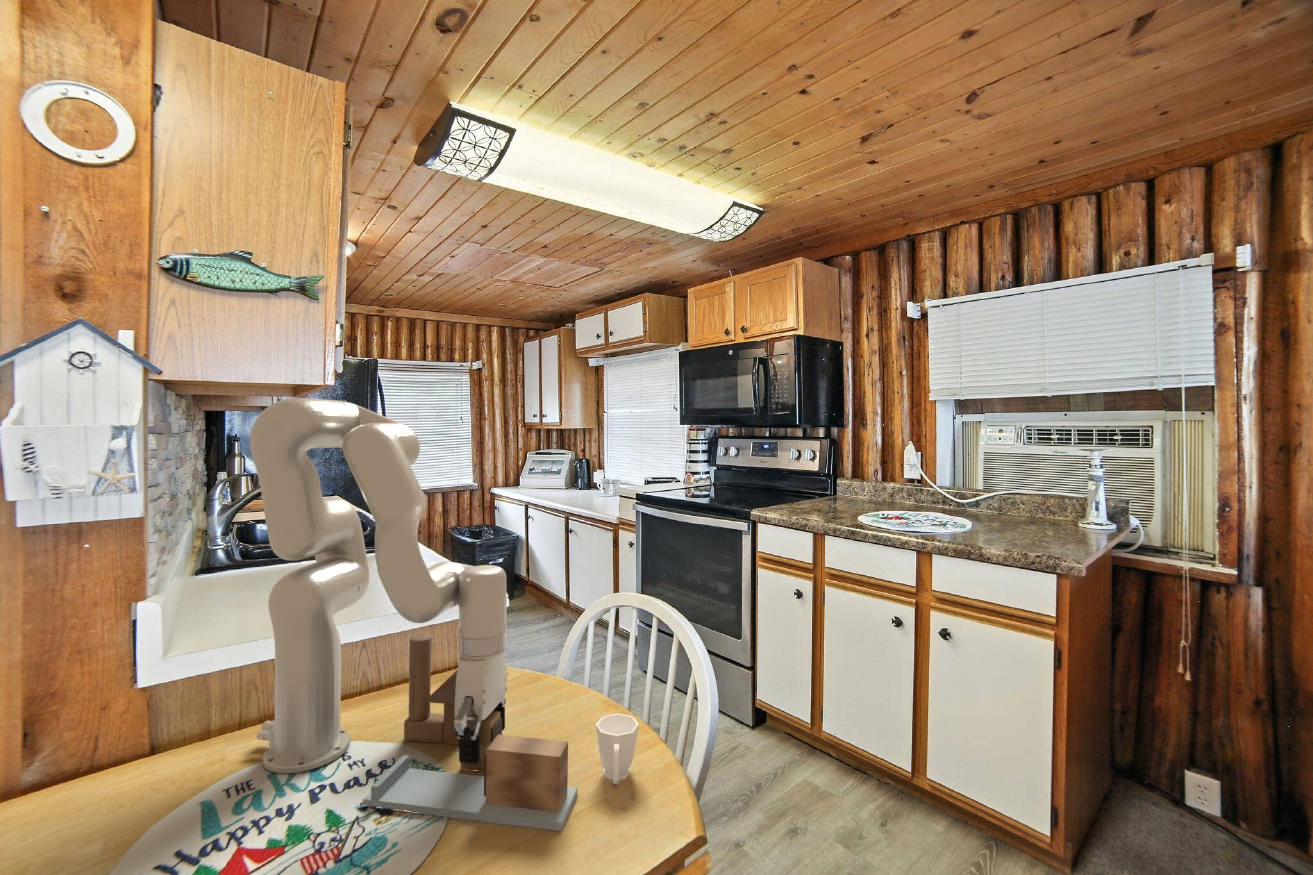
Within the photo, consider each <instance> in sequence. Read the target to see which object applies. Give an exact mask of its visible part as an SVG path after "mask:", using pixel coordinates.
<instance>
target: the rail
mask: <svg viewBox="0 0 1313 875" xmlns="http://www.w3.org/2000/svg"><path fill="white" fill-rule="evenodd" d="M370 790H371V791H369V793H368V794H367V795H365V796H364V798H363V799H362V806H363V805H371V806H379V807H382V808H391V809H392V808H393V809H398V810H407V811H411V812H418V813H423V814H427V815H426V816H431V815H438V816H437V817H440V816H445V817H444V818H448V817H450V818H449V819H455V820H456V819H458V820H467V821H473V822H481V823H482V822H483V823H488V824H489V823H490V824H498V825H505V826H512V827H520V828H521V827H523V828H530V829H537V830H538V829H539V830H548V831H553V832H554V831H555V832H563V828H564V826H565V825H566V821H567V819H568V817H569V815H570V813H571V811H572V809H573V806H574V804H575V801H576V799H577V798H578V797H577V796H578V786H572V785H567V796H566V799H565V801H564V803H563V805H562V807H561V809H560V811H559V812H550V811H542V810H534V809H525V808H517V807H508V806H500V805H491V804H486V796H484V775H483V776H482V775H473V774H464V773H455V772H446V771H437V770H429V769H428V770H427V769H419V768H412V767H410V755H406V754H405V755H402V756H401V757H399V759H398V760H397V761H396V762H394V764H392V765H391V767H389V769H388V770H386V771H385V773H384V774H382V775H381V777H380V778H378V779H377V780H376V781H375V782H374V783H373V784H372V785H371V789H370ZM423 814H422V815H423Z"/></svg>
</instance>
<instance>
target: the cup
mask: <svg viewBox="0 0 1313 875" xmlns="http://www.w3.org/2000/svg"><path fill="white" fill-rule="evenodd" d="M639 726H640V724H639V722H638V721H637V720H636V718H634V716H631V715H629V714H628V715H627V714H623V713H613V714H609V715H603V716H602V717H601V718H600V719H599V720H598V722H596V723H595V728H596V729H595V730H596V736H597V742H598V750H599V757H600V762H601V766H602V767H603V771H602V774H603V775H604V777H605V778H606V780H610V781H612V782H613V785H619V782H620V781H623V780H626V779H627V778H629V775H630V774H631V770H630V767H631V766H632V762H633V759H634V756H635V753H636V752H635V751H636V744H637V738H638V733H639V728H640V727H639Z"/></svg>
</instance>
